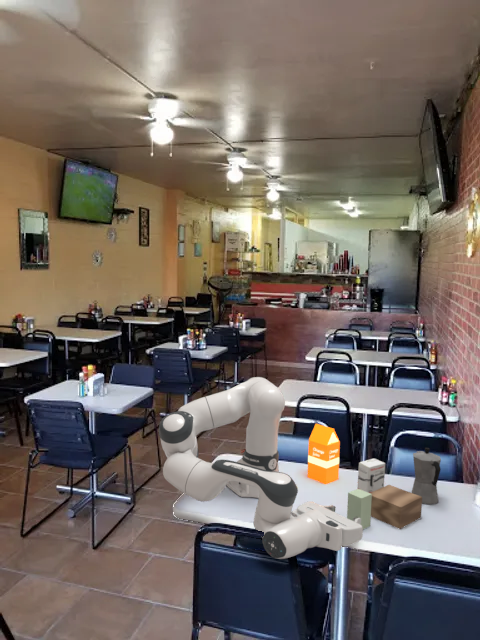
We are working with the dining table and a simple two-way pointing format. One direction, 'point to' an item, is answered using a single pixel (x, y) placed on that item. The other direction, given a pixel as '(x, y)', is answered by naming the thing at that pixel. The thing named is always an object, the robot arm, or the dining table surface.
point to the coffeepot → (426, 476)
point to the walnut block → (395, 506)
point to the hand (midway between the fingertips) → (346, 513)
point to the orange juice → (323, 454)
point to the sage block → (359, 506)
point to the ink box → (371, 475)
